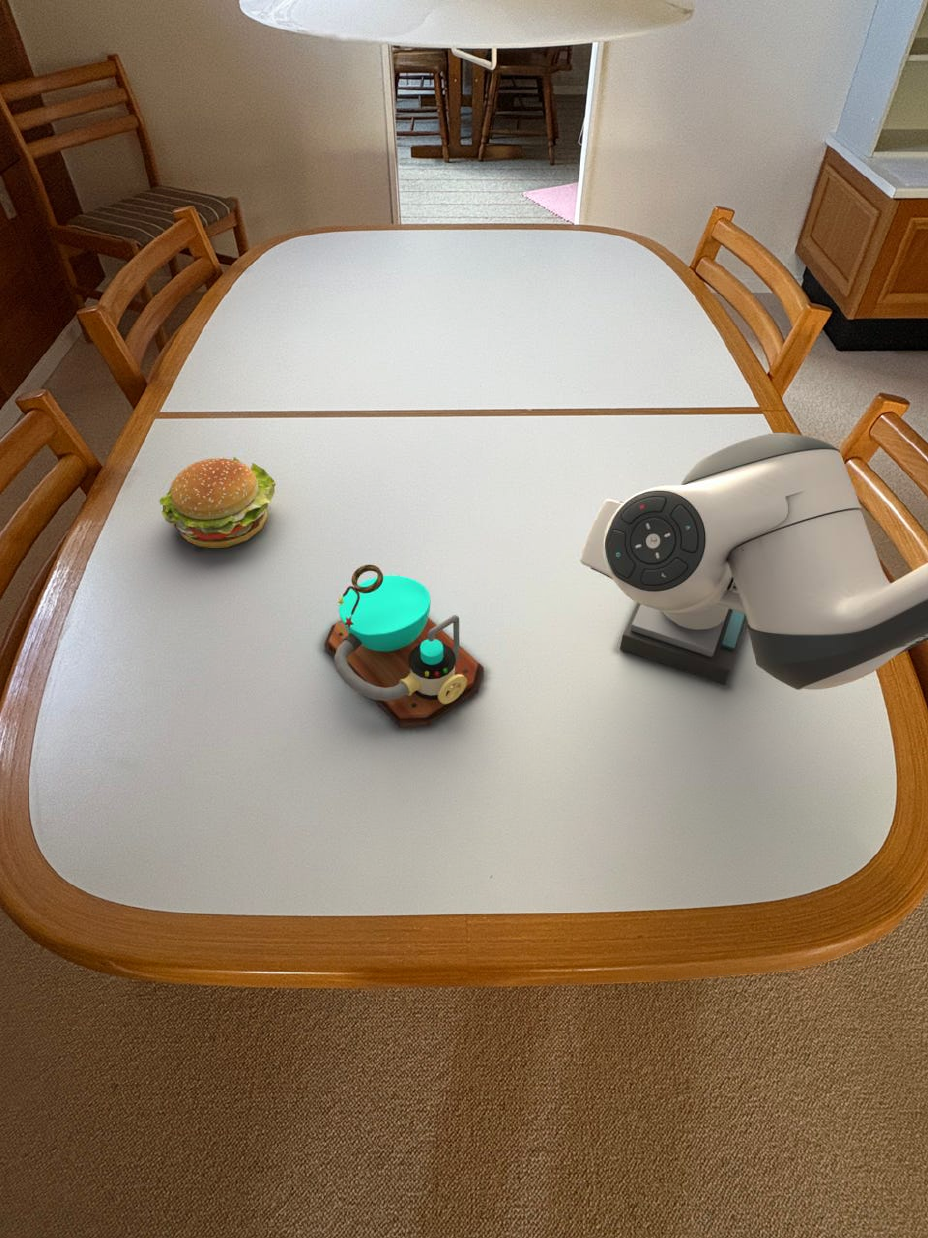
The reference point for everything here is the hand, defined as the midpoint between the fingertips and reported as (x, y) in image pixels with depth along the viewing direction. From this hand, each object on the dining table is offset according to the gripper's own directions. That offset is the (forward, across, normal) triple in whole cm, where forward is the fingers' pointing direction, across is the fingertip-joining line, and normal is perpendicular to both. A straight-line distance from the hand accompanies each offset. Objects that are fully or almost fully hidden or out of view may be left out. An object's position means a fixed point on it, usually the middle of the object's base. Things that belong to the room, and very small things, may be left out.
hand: (696, 577), depth 81 cm
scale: (+10, 0, +6) cm, 12 cm away
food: (0, +59, +16) cm, 61 cm away
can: (+8, 0, +3) cm, 9 cm away
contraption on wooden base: (-5, +26, +22) cm, 34 cm away
